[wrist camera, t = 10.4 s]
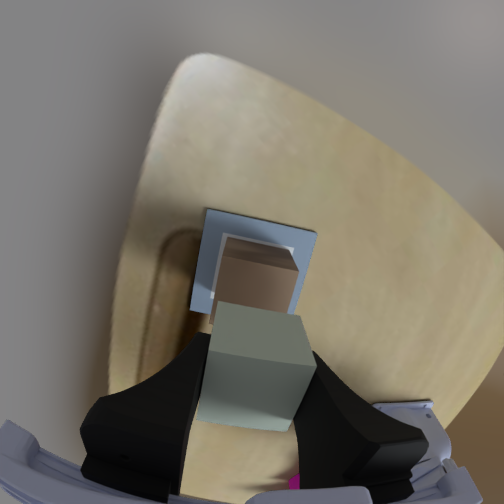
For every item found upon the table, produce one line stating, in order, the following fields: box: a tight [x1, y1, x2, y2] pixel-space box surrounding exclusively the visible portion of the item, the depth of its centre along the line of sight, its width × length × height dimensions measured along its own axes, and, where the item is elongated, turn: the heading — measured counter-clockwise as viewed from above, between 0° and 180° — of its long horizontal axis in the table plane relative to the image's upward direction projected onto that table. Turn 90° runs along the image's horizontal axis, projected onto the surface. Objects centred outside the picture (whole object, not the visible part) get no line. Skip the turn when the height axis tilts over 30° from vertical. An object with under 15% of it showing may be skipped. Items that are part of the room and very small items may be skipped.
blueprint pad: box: [190, 209, 317, 314], centre depth 22 cm, size 8×8×1 cm
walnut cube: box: [209, 237, 299, 324], centre depth 19 cm, size 4×4×4 cm
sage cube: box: [196, 301, 317, 431], centre depth 12 cm, size 4×4×4 cm
